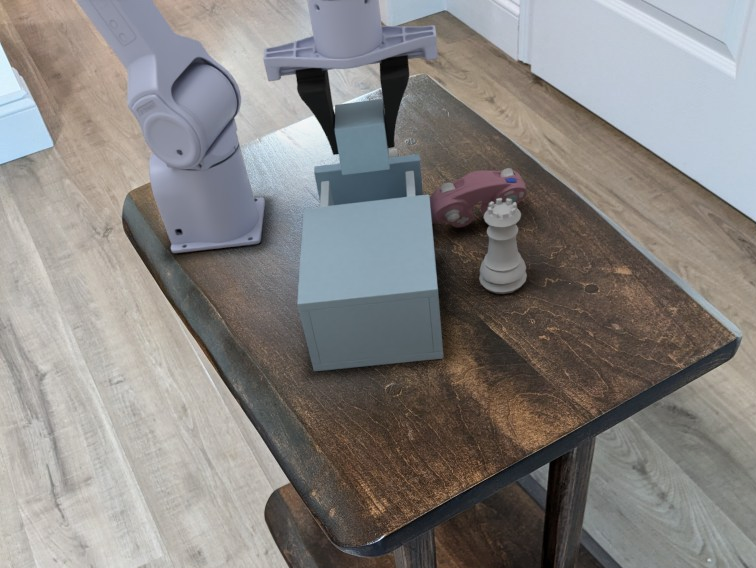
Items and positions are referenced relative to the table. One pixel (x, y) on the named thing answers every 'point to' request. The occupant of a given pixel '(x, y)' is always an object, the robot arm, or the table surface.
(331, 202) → the freezer drawer
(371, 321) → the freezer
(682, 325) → the table surface
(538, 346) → the table surface
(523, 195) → the pink toy car
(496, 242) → the rook chess piece
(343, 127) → the ice block
